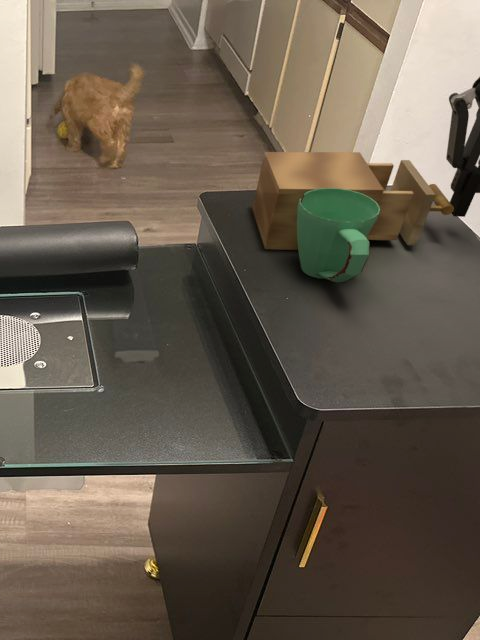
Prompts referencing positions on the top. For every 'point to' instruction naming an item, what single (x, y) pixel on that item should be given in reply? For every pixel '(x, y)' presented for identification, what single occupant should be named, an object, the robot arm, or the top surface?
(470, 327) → the top surface
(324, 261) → the mug
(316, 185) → the cabinet
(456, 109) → the robot arm
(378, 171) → the drawer
